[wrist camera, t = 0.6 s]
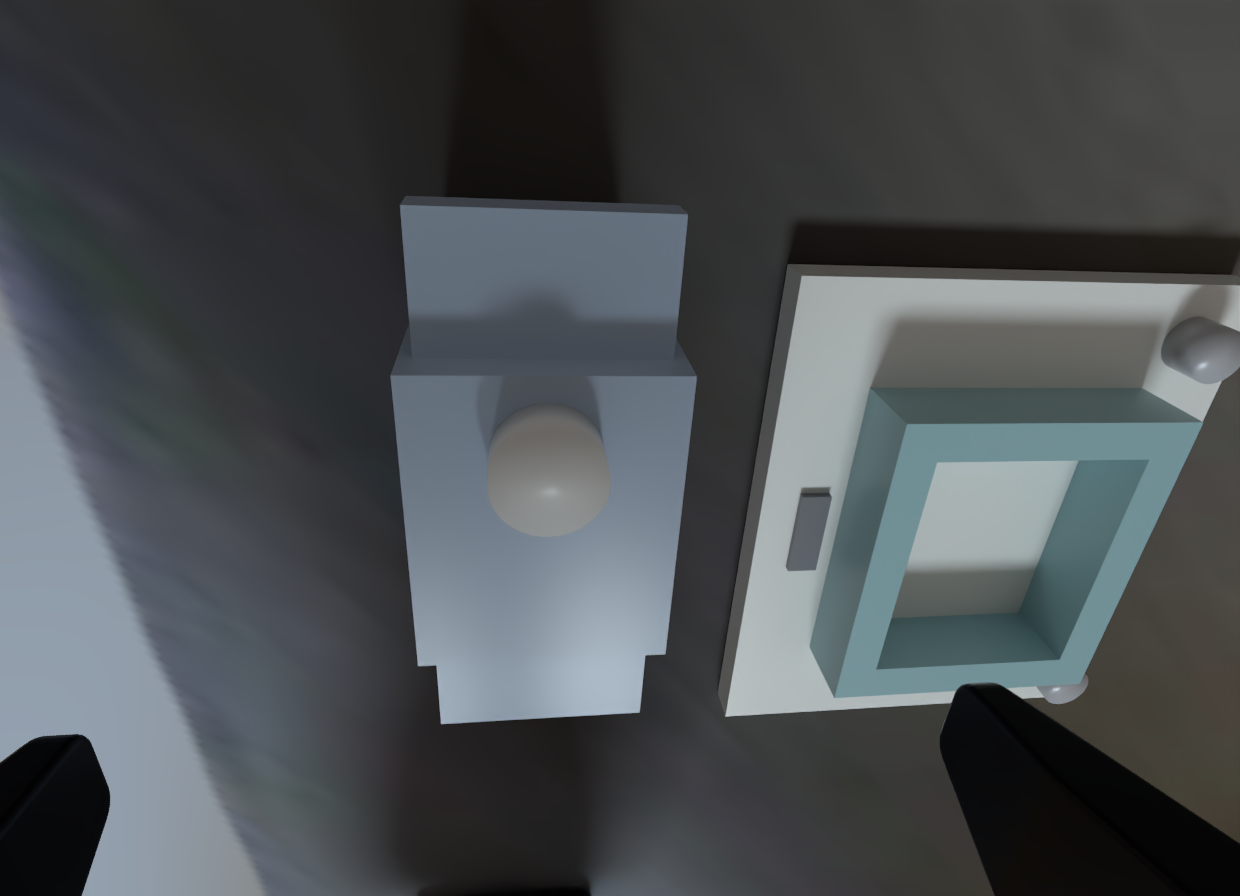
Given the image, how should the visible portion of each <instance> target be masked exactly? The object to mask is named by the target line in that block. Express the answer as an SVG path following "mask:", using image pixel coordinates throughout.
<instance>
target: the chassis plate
mask: <svg viewBox="0 0 1240 896" xmlns="http://www.w3.org/2000/svg"><path fill="white" fill-rule="evenodd" d="M1239 367H1240V277H1238V276H1235V275H1215V274H1174V273H1133V272H1093V271H1052V270H1011V269H970V268H930V267H889V266H848V265H807V264H788V265H787V271H786V277H785V284H784V290H783V296H782V302H781V308H780V314H779V320H778V326H777V333H776V339H775V345H774V351H773V357H772V363H771V369H770V375H769V382H768V388H767V394H766V400H765V406H764V412H763V418H762V425H761V431H760V437H759V443H758V449H757V455H756V461H755V467H754V474H753V480H752V486H751V492H750V498H749V504H748V510H747V516H746V523H745V529H744V535H743V541H742V547H741V553H740V559H739V565H738V572H737V578H736V584H735V590H734V596H733V602H732V608H731V614H730V621H729V627H728V633H727V639H726V645H725V651H724V657H723V663H722V670H721V676H720V682H719V688H718V694H719V698H720V701H721V704H722V707H723V710H724V714H725V716H741V715H758V714H774V713H791V712H807V711H824V710H841V709H857V708H874V707H890V706H907V705H923V704H940V703H951V702H952V700H953V697H954V694H955V692H956V690H957V689H958V688H959V687H960V686H961V685H963V684H968V683H986V682H993V683H997V684H1000V685H1002V686H1004V687H1005V688H1007V689H1009V690H1010V691H1012V692H1013V693H1015V694H1016V695H1018V696H1019V697H1021V698H1022V699H1023V698H1039V697H1045V698H1046V700H1047V701H1048V702H1050V703H1053V704H1062V703H1066V702H1069V701H1072V700H1074V699H1075V698H1077V697H1078V696H1079V695H1081V694H1082V693H1083V692H1084V690H1085V689H1086V687H1087V685H1088V677H1087V675H1086V674H1085V671H1086V669H1087V667H1088V665H1089V663H1090V661H1091V659H1092V657H1093V655H1094V652H1095V650H1096V648H1097V646H1098V644H1099V642H1100V640H1101V638H1102V636H1103V633H1104V631H1105V629H1106V627H1107V625H1108V623H1109V621H1110V619H1111V617H1112V614H1113V612H1114V610H1115V608H1116V606H1117V604H1118V602H1119V600H1120V598H1121V595H1122V593H1123V591H1124V589H1125V587H1126V585H1127V583H1128V581H1129V579H1130V576H1131V574H1132V572H1133V570H1134V568H1135V566H1136V564H1137V562H1138V560H1139V557H1140V555H1141V553H1142V551H1143V549H1144V547H1145V545H1146V543H1147V541H1148V538H1149V536H1150V534H1151V532H1152V530H1153V528H1154V526H1155V524H1156V522H1157V519H1158V517H1159V515H1160V513H1161V511H1162V509H1163V507H1164V505H1165V503H1166V500H1167V498H1168V496H1169V494H1170V492H1171V490H1172V488H1173V486H1174V484H1175V482H1176V479H1177V477H1178V475H1179V473H1180V471H1181V469H1182V467H1183V465H1184V463H1185V460H1186V458H1187V456H1188V454H1189V452H1190V450H1191V448H1192V446H1193V444H1194V441H1195V439H1196V437H1197V435H1198V433H1199V431H1200V429H1201V427H1202V425H1203V420H1204V417H1205V415H1206V413H1207V411H1208V409H1209V407H1210V405H1211V403H1212V401H1213V398H1214V396H1215V394H1216V392H1217V390H1218V388H1219V386H1220V384H1221V381H1222V380H1224V379H1226V378H1227V377H1229V376H1230V375H1231V374H1233V373H1234V372H1235V371H1236V370H1237V369H1238V368H1239Z"/></svg>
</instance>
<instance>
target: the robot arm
mask: <svg viewBox="0 0 1240 896" xmlns="http://www.w3.org/2000/svg"><path fill="white" fill-rule="evenodd" d="M940 750H941V755H942V758H943V761H944V763H945V766H946V769H947V771H948V774H949V777H950V779H951V782H952V785H953V787H954V790H955V793H956V795H957V798H958V801H959V803H960V806H961V809H962V811H963V814H964V817H965V819H966V822H967V825H968V827H969V830H970V833H971V835H972V838H973V841H974V843H975V846H976V849H977V851H978V854H979V857H980V859H981V862H982V865H983V867H984V870H985V873H986V875H987V878H988V880H989V882H990V885H991V887H992V890H993V892H994V895H995V896H1240V843H1238V842H1237V841H1235V840H1234V839H1232V838H1231V837H1229V836H1228V835H1226V834H1225V833H1223V832H1222V831H1220V830H1219V829H1217V828H1216V827H1214V826H1213V825H1211V824H1210V823H1208V822H1207V821H1205V820H1204V819H1202V818H1201V817H1199V816H1198V815H1196V814H1195V813H1193V812H1192V811H1190V810H1189V809H1187V808H1186V807H1184V806H1183V805H1181V804H1180V803H1178V802H1177V801H1175V800H1174V799H1172V798H1171V797H1169V796H1168V795H1166V794H1165V793H1163V792H1162V791H1160V790H1159V789H1157V788H1156V787H1154V786H1153V785H1151V784H1150V783H1148V782H1147V781H1145V780H1144V779H1142V778H1141V777H1139V776H1138V775H1136V774H1135V773H1133V772H1132V771H1130V770H1129V769H1127V768H1126V767H1124V766H1123V765H1121V764H1120V763H1118V762H1117V761H1115V760H1114V759H1112V758H1111V757H1109V756H1108V755H1106V754H1105V753H1103V752H1102V751H1100V750H1099V749H1097V748H1096V747H1094V746H1093V745H1091V744H1090V743H1088V742H1087V741H1085V740H1084V739H1082V738H1081V737H1079V736H1078V735H1076V734H1075V733H1073V732H1072V731H1070V730H1069V729H1067V728H1066V727H1064V726H1063V725H1061V724H1060V723H1058V722H1057V721H1055V720H1054V719H1052V718H1051V717H1049V716H1048V715H1046V714H1045V713H1043V712H1042V711H1040V710H1039V709H1037V708H1036V707H1034V706H1033V705H1031V704H1030V703H1028V702H1027V701H1025V700H1024V699H1022V698H1021V697H1019V696H1018V695H1016V694H1015V693H1013V692H1012V691H1010V690H1009V689H1007V688H1005V687H1004V686H1002V685H1000V684H997V683H993V682H986V683H968V684H963V685H961V686H960V687H959V688H958V689H957V690H956V692H955V694H954V697H953V700H952V702H951V705H950V708H949V711H948V713H947V716H946V719H945V722H944V724H943V727H942V730H941V733H940ZM109 807H110V792H109V787H108V785H107V782H106V780H105V777H104V775H103V772H102V769H101V767H100V765H99V762H98V759H97V757H96V754H95V752H94V749H93V747H92V744H91V742H90V741H89V739H87V738H86V737H85V736H83V735H78V734H74V735H56V736H42V737H38V738H35V739H33V740H31V741H29V742H28V743H26V744H25V745H23V746H22V747H20V748H19V749H18V750H16V751H15V752H14V753H13V754H11V755H10V756H8V757H7V758H6V759H4V760H3V761H2V762H0V896H82V893H83V890H84V887H85V883H86V881H87V878H88V875H89V871H90V868H91V865H92V862H93V859H94V856H95V853H96V850H97V847H98V844H99V841H100V838H101V835H102V831H103V829H104V826H105V823H106V820H107V816H108V813H109ZM519 896H591V894H590V893H589V892H588V891H584V890H574V891H563V892H552V893H541V894H530V895H519Z"/></svg>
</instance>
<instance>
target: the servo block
mask: <svg viewBox="0 0 1240 896" xmlns="http://www.w3.org/2000/svg"><path fill="white" fill-rule="evenodd" d="M400 212H401V225H402V238H403V250H404V263H405V275H406V288H407V301H408V313H409V325H408V328H407V330H406V333H405V336H404V339H403V342H402V345H401V347H400V350H399V353H398V356H397V359H396V361H395V364H394V367H393V370H392V373H391V386H392V396H393V407H394V418H395V428H396V439H397V449H398V460H399V470H400V481H401V491H402V502H403V512H404V523H405V533H406V544H407V555H408V565H409V576H410V586H411V597H412V607H413V618H414V628H415V639H416V649H417V660H418V666H434V665H436V666H437V679H438V692H439V704H440V717H441V724H452V723H469V722H486V721H503V720H520V719H537V718H554V717H571V716H588V715H605V714H622V713H639V712H640V705H641V695H642V684H643V674H644V664H645V655H661V654H665V653H666V644H667V635H668V626H669V617H670V609H671V600H672V591H673V582H674V574H675V565H676V556H677V547H678V538H679V530H680V521H681V512H682V503H683V495H684V486H685V477H686V468H687V459H688V451H689V442H690V433H691V424H692V415H693V407H694V398H695V389H696V380H697V376H696V374H695V372H694V370H693V368H692V366H691V365H690V363H689V361H688V359H687V357H686V355H685V354H684V352H683V350H682V348H681V346H680V344H679V342H678V341H677V339H676V334H677V324H678V314H679V303H680V293H681V283H682V272H683V262H684V252H685V241H686V231H687V221H688V214H687V213H686V212H685V211H684V210H683V209H682V208H681V207H680V206H679V205H656V204H628V203H599V202H570V201H542V200H513V199H484V198H456V197H427V196H405V198H404V199H403V201H402V202H401V204H400Z"/></svg>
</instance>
